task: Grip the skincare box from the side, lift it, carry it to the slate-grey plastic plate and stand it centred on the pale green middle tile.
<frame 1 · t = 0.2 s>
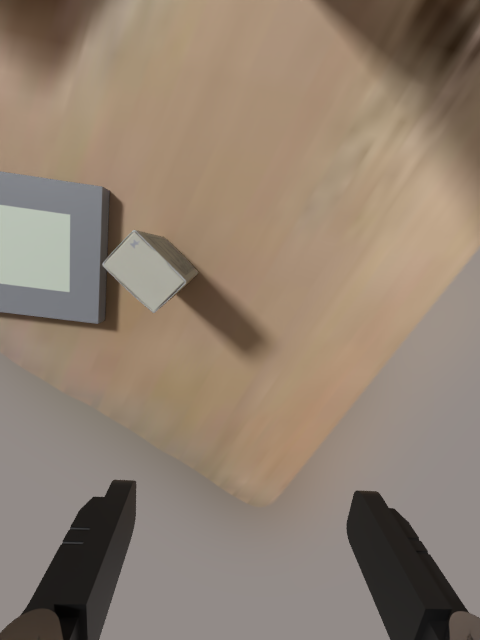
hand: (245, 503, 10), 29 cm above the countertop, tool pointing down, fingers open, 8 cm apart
plate: (41, 249, 35), on the countertop
skincare box: (171, 267, 37), on the countertop
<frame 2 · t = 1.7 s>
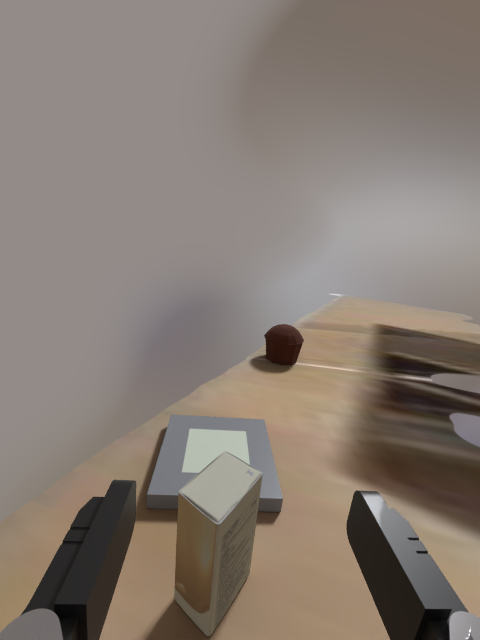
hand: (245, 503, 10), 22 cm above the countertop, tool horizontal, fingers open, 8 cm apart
plate: (216, 461, 42), on the countertop
skincare box: (212, 589, 27), on the countertop
muffin: (280, 359, 84), on the countertop
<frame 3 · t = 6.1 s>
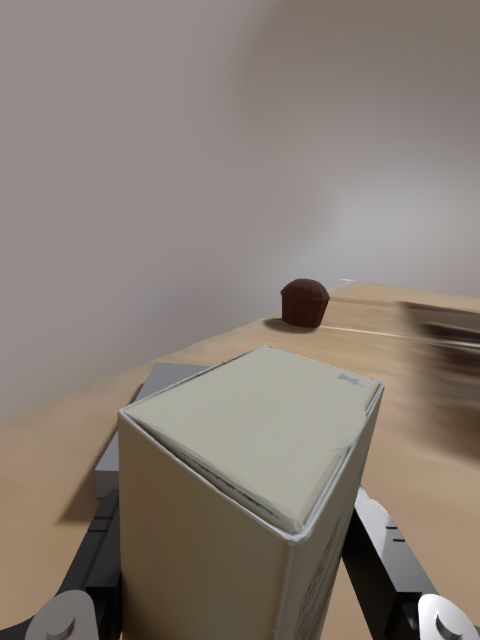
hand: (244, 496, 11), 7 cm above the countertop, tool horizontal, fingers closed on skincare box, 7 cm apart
plate: (226, 425, 26), on the countertop
muffin: (300, 322, 68), on the countertop
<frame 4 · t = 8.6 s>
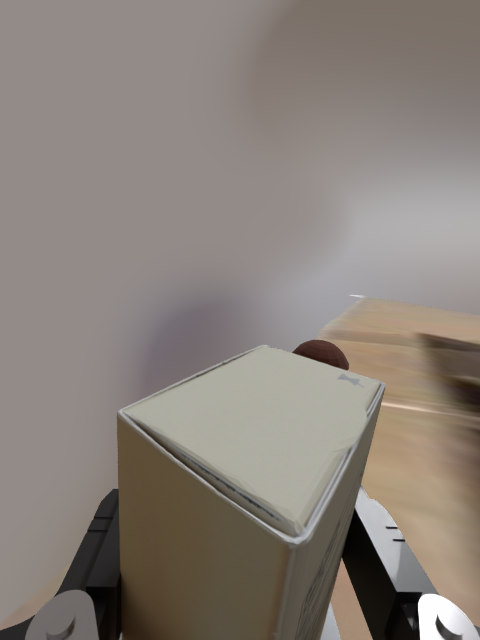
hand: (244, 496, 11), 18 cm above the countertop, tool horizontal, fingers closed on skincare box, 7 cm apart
muffin: (313, 390, 58), on the countertop
when the fingers open (10 cm above the countertop, at t = 11.0 s): skincare box drops 1 cm, resting on plate.
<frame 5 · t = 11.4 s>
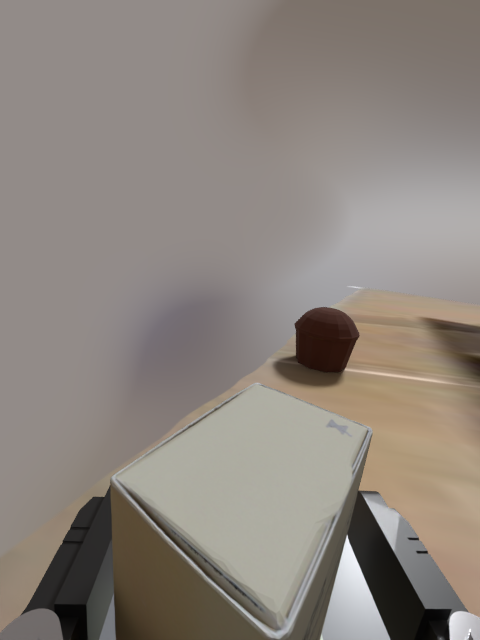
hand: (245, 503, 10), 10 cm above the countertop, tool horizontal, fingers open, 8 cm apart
muffin: (319, 363, 53), on the countertop
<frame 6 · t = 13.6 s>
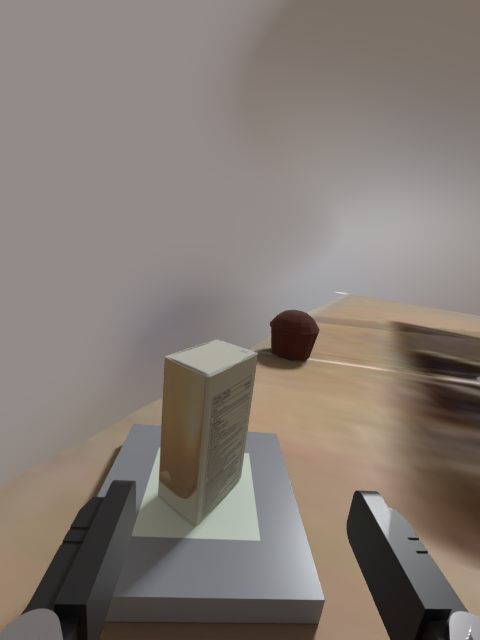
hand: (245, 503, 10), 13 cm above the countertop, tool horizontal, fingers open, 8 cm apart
plate: (199, 505, 25), on the countertop
skincare box: (200, 489, 24), point 2 cm above the countertop, touching plate
muffin: (289, 354, 67), on the countertop
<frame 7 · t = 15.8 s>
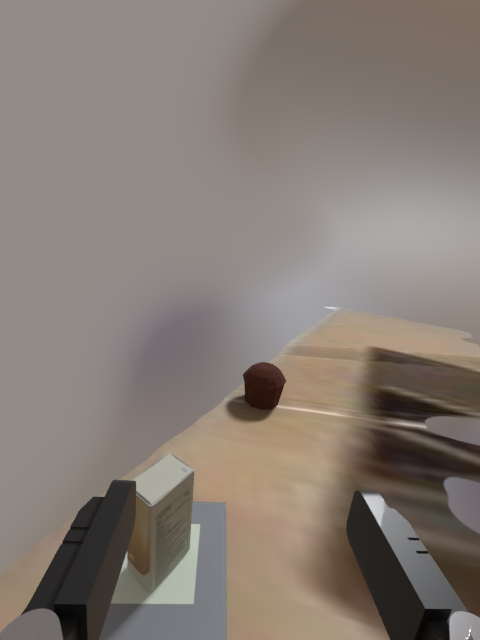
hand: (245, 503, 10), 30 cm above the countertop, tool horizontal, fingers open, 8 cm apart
plate: (159, 570, 35), on the countertop
skincare box: (158, 560, 34), point 2 cm above the countertop, touching plate
muffin: (261, 400, 77), on the countertop
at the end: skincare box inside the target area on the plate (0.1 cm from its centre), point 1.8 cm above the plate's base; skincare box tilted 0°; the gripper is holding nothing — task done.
